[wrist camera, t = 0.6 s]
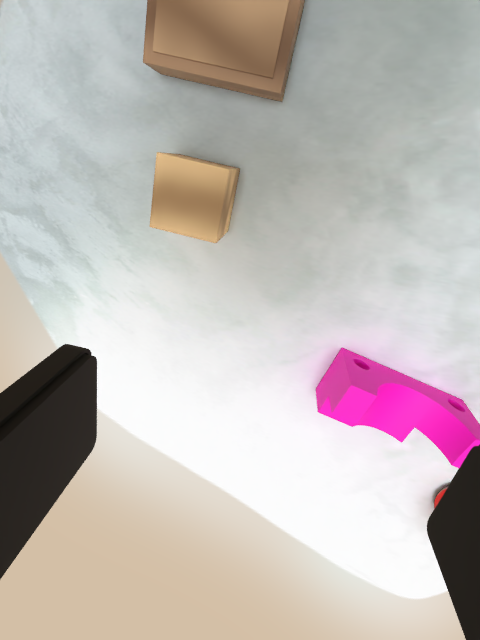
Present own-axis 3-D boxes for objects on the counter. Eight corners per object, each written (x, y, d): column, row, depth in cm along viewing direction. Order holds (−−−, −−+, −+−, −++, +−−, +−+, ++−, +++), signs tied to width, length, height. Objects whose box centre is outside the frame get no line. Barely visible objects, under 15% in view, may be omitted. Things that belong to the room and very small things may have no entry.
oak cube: (179, 154, 33) (156, 152, 28) (240, 168, 33) (229, 169, 28) (171, 217, 36) (149, 226, 31) (227, 231, 36) (215, 243, 30)
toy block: (315, 387, 42) (319, 431, 35) (341, 346, 39) (351, 384, 32) (428, 436, 42) (453, 488, 36) (461, 398, 40) (495, 447, 33)
